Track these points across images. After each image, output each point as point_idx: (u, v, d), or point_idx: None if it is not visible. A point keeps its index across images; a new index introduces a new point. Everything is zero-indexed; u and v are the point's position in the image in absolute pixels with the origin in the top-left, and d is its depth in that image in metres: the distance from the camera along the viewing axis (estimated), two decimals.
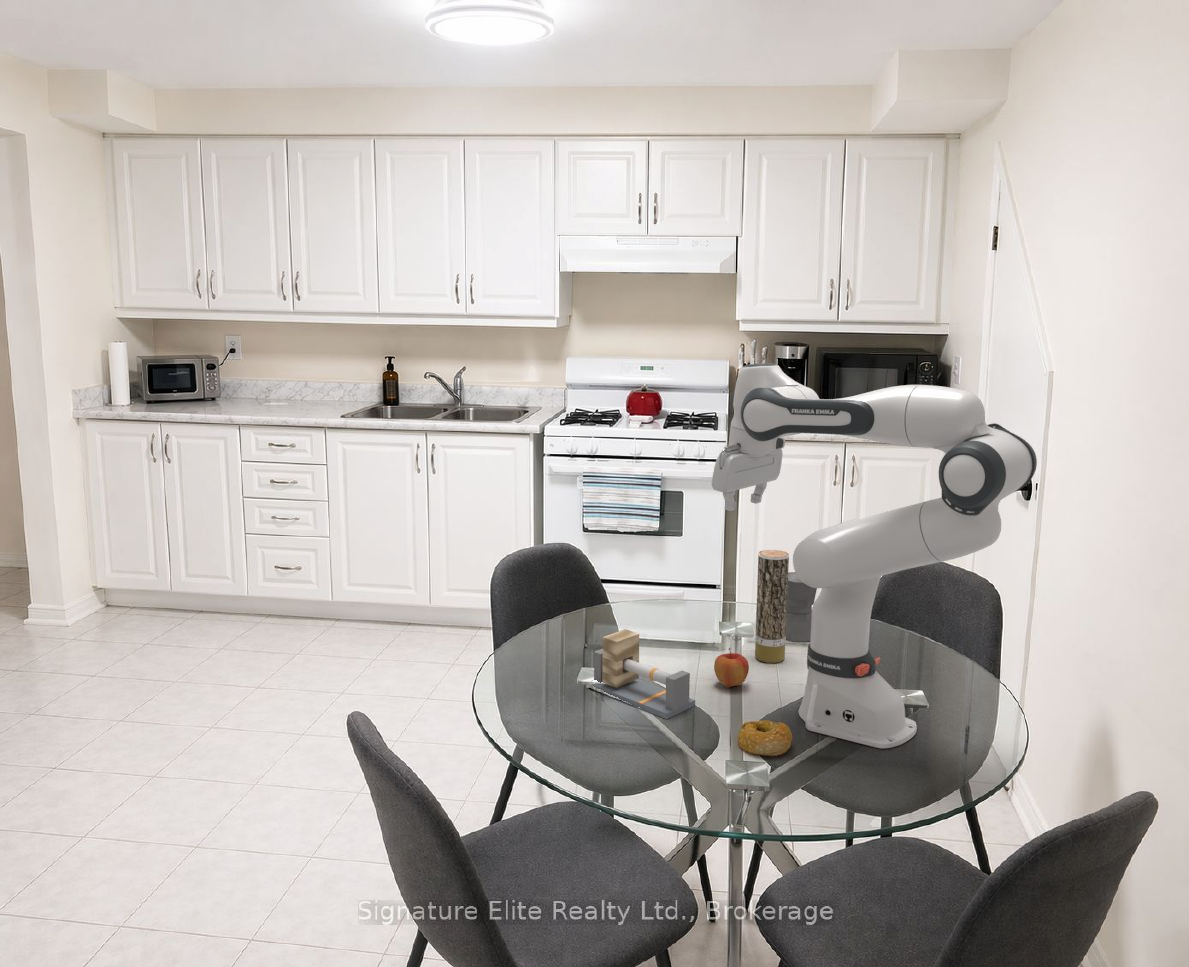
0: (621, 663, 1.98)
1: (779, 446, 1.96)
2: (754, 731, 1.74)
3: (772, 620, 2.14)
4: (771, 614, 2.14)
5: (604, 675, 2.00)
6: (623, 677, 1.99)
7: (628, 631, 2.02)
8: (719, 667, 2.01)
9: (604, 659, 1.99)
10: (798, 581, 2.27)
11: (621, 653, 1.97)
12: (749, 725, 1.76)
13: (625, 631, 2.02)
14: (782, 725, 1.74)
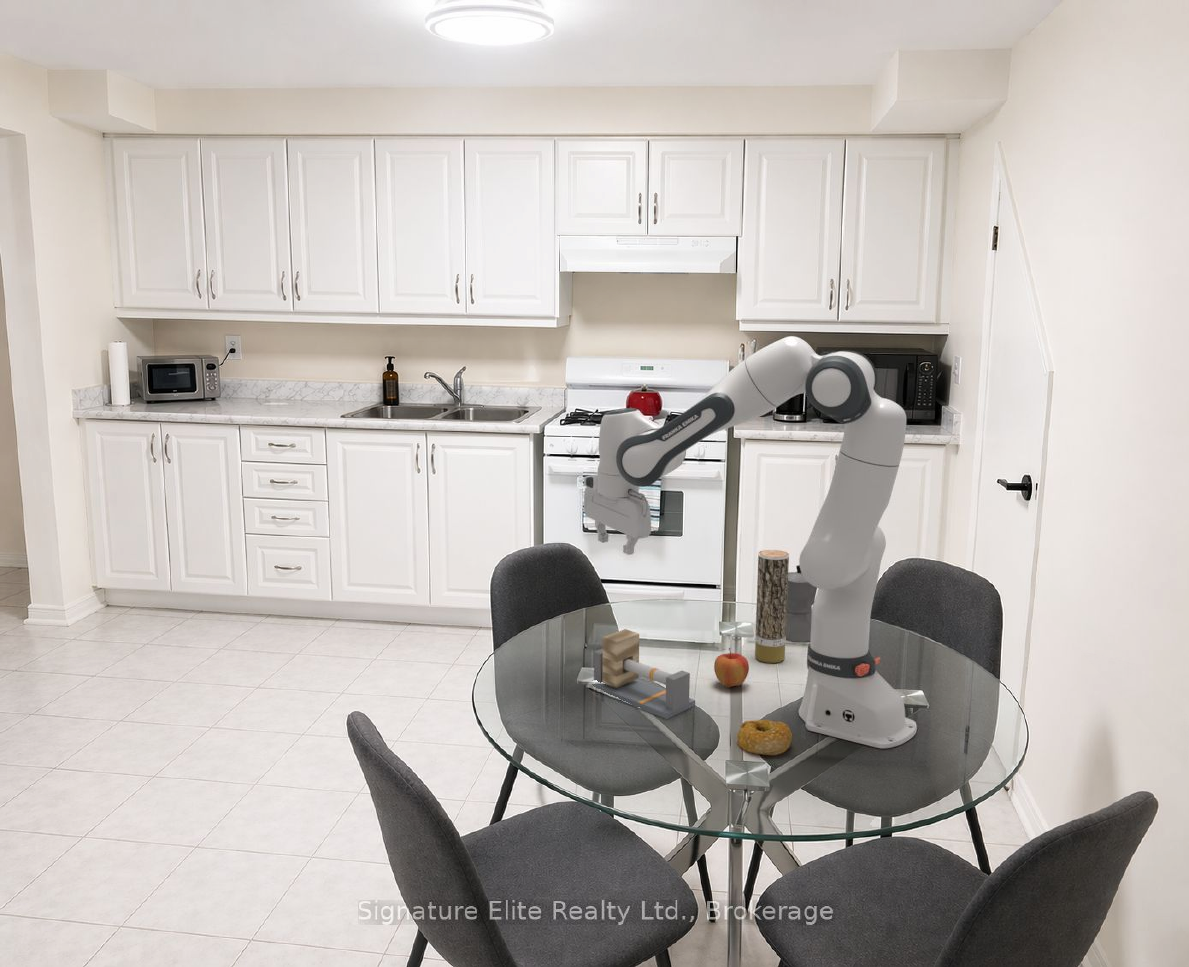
0: (621, 663, 1.98)
1: None
2: (754, 730, 1.74)
3: (772, 620, 2.14)
4: (771, 614, 2.14)
5: (604, 675, 2.00)
6: (623, 677, 1.99)
7: (628, 631, 2.02)
8: (719, 667, 2.01)
9: (604, 659, 1.99)
10: (798, 581, 2.27)
11: (621, 653, 1.97)
12: (749, 724, 1.77)
13: (625, 631, 2.02)
14: (781, 725, 1.75)
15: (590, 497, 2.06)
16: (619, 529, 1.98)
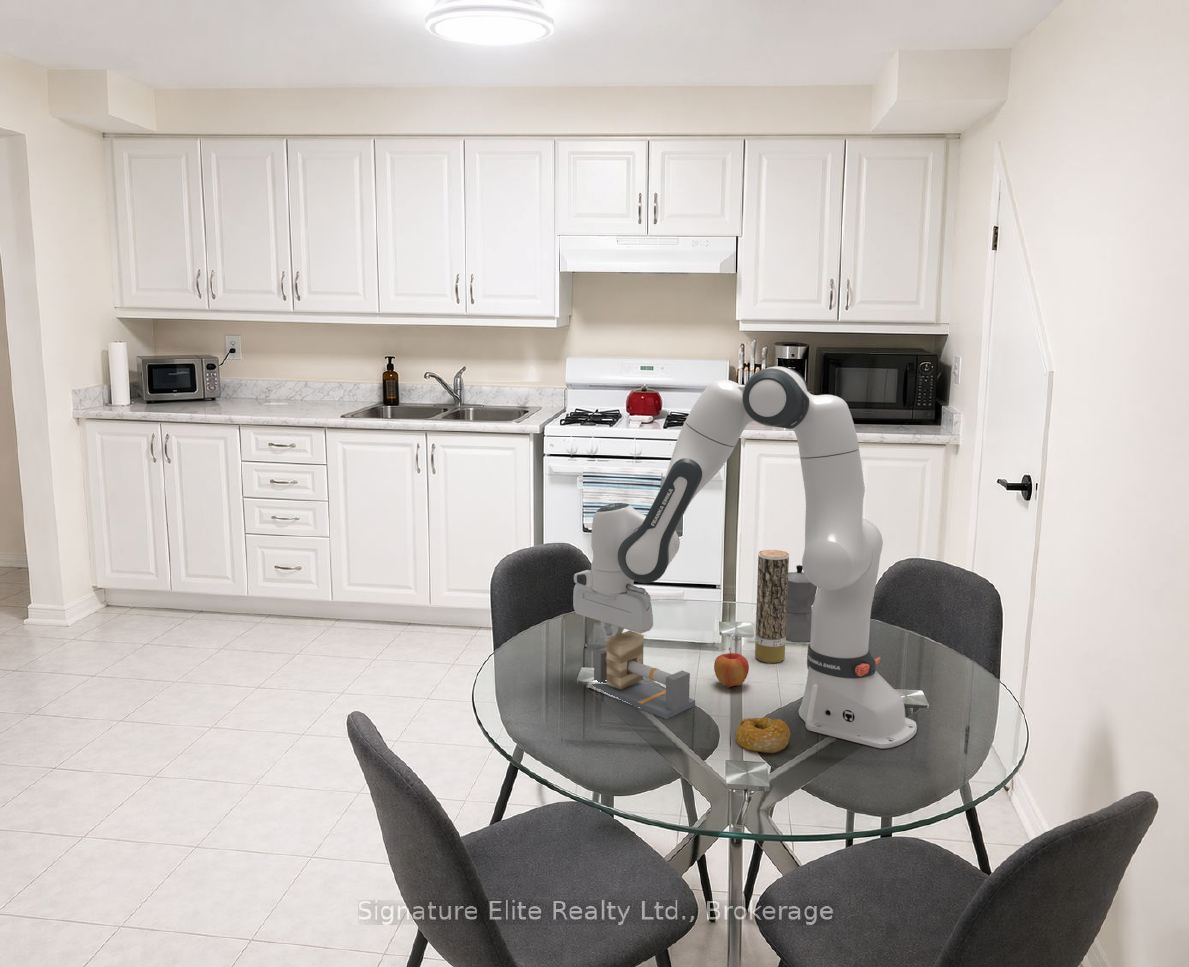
0: (625, 664, 1.97)
1: None
2: (752, 728, 1.75)
3: (772, 620, 2.14)
4: (771, 614, 2.14)
5: (608, 677, 1.99)
6: (627, 679, 1.98)
7: (632, 632, 2.01)
8: (719, 667, 2.01)
9: (608, 660, 1.98)
10: (798, 581, 2.27)
11: (626, 655, 1.97)
12: (747, 722, 1.78)
13: (629, 632, 2.01)
14: (780, 722, 1.76)
15: (580, 594, 2.04)
16: (619, 625, 1.97)
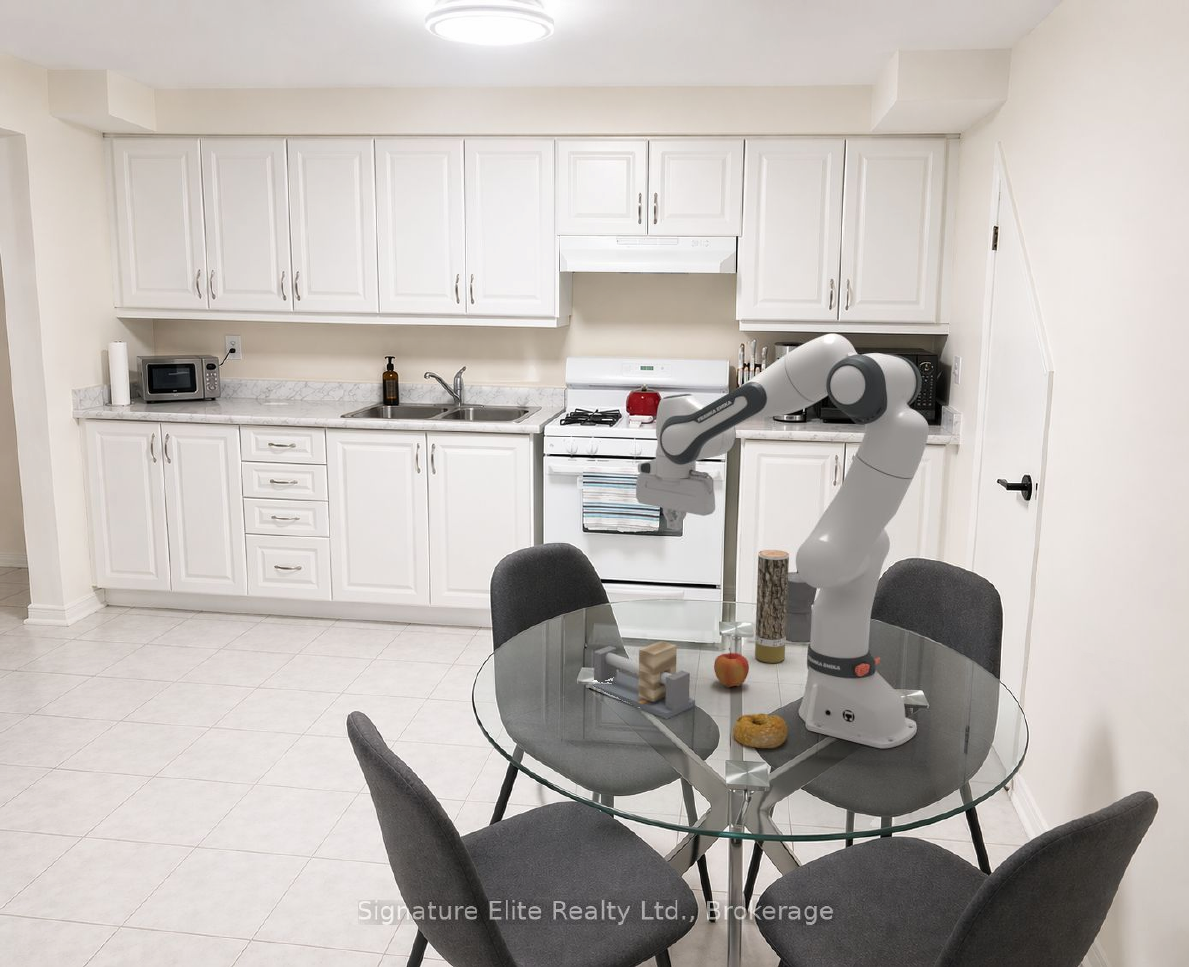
0: (658, 676, 1.91)
1: None
2: (750, 724, 1.76)
3: (772, 620, 2.14)
4: (771, 614, 2.14)
5: (640, 689, 1.93)
6: (660, 691, 1.92)
7: (665, 643, 1.95)
8: (719, 667, 2.01)
9: (640, 672, 1.92)
10: (798, 581, 2.27)
11: (659, 666, 1.90)
12: (745, 718, 1.79)
13: (662, 643, 1.95)
14: (777, 719, 1.77)
15: (643, 483, 2.14)
16: (682, 509, 2.07)
